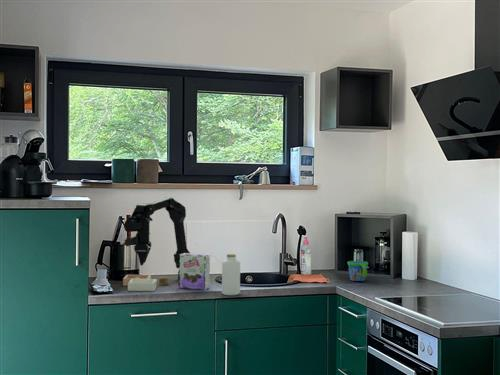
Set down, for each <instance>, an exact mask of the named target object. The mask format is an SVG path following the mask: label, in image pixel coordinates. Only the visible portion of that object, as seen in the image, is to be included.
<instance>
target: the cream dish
mask: <svg viewBox="0 0 500 375" xmlns="http://www.w3.org/2000/svg"><path fill="white" fill-rule="evenodd" d="M157 285H158V284H157V278H151V279H131V280H130V281H129V283H128V286H127V292H128V293H154V292H155V290H156V288H157Z"/></svg>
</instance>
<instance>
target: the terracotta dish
mask: <svg viewBox="0 0 500 375" xmlns="http://www.w3.org/2000/svg"><path fill="white" fill-rule="evenodd" d="M136 277H139V278H136ZM151 277H152V275H151V274H126V275H125V276H124V277H123V278H122V286H123V287H128V283H129V281H130V280H131V279H152V278H151Z"/></svg>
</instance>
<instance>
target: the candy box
mask: <svg viewBox="0 0 500 375" xmlns="http://www.w3.org/2000/svg"><path fill="white" fill-rule="evenodd" d="M210 261H211V254H205V253H204V254H202V253H191V252H190V253H182V254H180V257H179V268H178V271H179V280H178V288H179V289H185V290H186V289H188V290H196V291H197V290H199V291H207V290H209V289H210V275H211V274H210V269H211V268H210V264H211V263H210Z"/></svg>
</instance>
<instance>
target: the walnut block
mask: <svg viewBox="0 0 500 375" xmlns="http://www.w3.org/2000/svg"><path fill="white" fill-rule="evenodd" d="M158 279H159V280H158V281H159V282H158V286H168V285H169V277H168V276H167V277H166V276H159V278H158Z"/></svg>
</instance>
